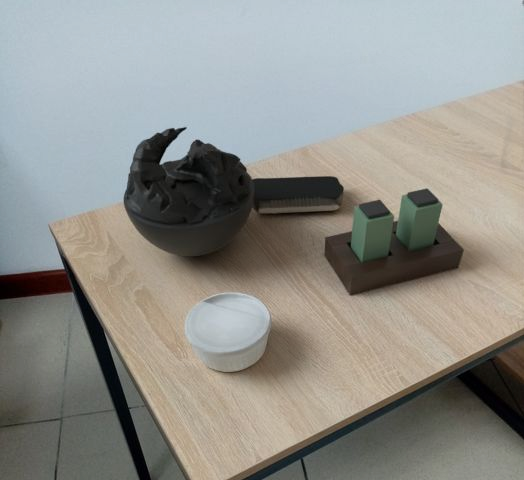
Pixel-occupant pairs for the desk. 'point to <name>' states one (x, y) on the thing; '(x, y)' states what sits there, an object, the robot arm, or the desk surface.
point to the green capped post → (418, 219)
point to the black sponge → (297, 194)
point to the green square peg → (371, 231)
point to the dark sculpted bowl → (187, 196)
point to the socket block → (391, 261)
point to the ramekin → (228, 330)
